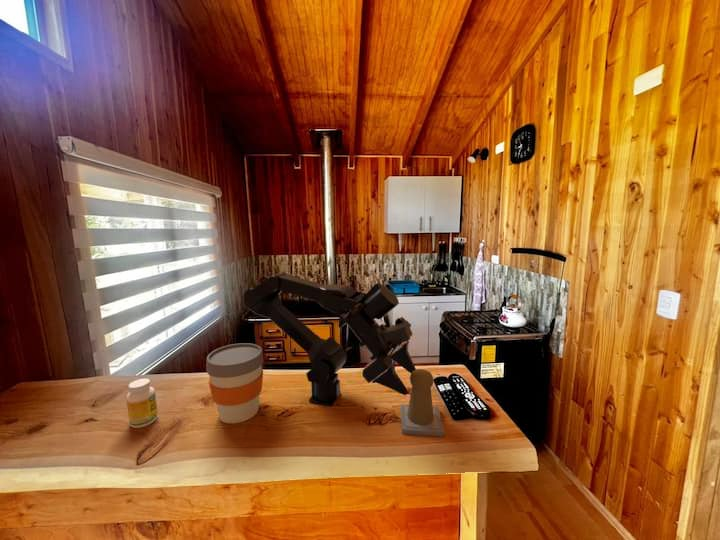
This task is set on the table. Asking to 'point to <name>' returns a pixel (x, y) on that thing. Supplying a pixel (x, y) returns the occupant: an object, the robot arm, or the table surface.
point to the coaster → (430, 429)
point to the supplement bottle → (141, 403)
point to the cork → (421, 398)
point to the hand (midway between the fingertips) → (411, 383)
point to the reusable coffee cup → (236, 380)
